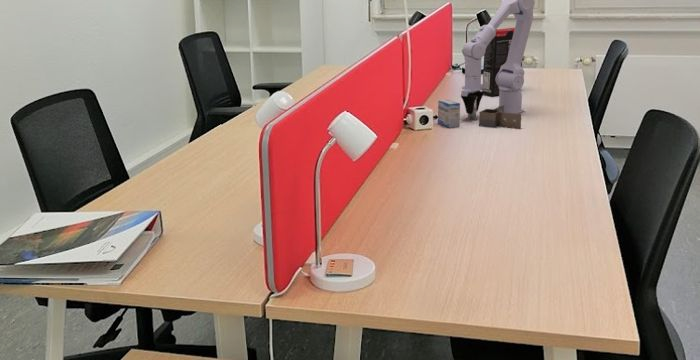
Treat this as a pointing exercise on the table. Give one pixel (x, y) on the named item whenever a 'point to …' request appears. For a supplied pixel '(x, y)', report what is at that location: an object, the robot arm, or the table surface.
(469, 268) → the table surface
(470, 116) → the grey metal cylinder
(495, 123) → the dark brown block
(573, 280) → the table surface
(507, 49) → the graphics card box
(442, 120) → the medicine box
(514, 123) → the brown open box
